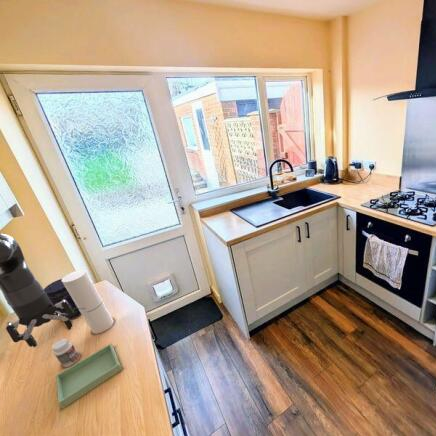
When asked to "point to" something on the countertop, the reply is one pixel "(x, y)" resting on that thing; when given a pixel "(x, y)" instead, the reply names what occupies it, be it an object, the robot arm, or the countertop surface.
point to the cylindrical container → (88, 301)
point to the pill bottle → (65, 352)
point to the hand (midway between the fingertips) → (53, 336)
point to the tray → (86, 375)
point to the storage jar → (61, 297)
